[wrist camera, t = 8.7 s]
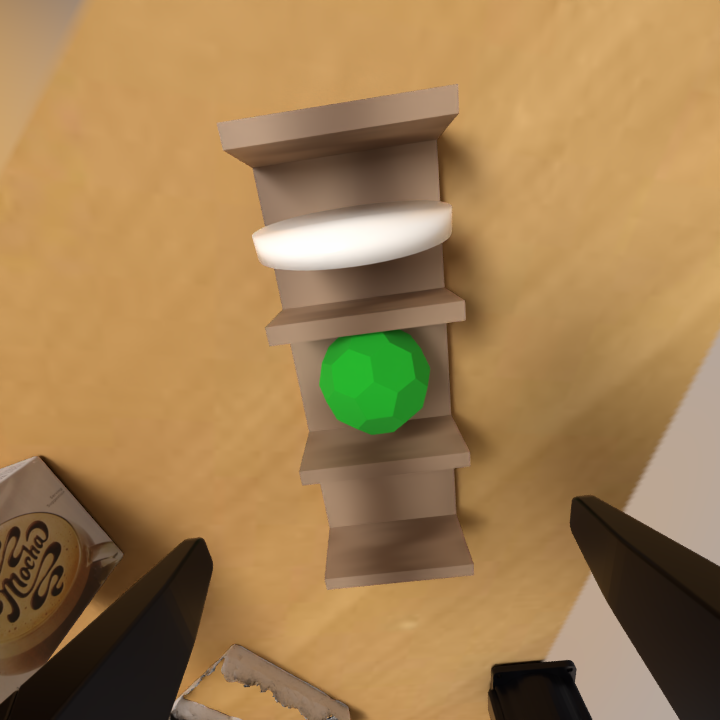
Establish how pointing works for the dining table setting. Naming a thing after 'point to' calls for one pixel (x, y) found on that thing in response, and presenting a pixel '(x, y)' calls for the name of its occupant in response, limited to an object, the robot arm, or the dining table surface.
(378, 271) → the rack
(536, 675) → the robot arm
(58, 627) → the coffee box
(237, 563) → the dining table surface
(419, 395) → the polyhedron
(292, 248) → the saucer
